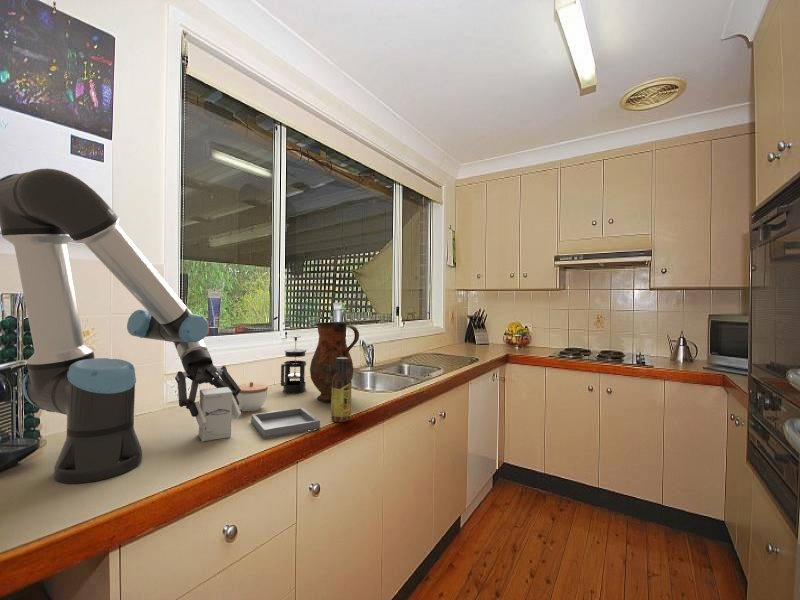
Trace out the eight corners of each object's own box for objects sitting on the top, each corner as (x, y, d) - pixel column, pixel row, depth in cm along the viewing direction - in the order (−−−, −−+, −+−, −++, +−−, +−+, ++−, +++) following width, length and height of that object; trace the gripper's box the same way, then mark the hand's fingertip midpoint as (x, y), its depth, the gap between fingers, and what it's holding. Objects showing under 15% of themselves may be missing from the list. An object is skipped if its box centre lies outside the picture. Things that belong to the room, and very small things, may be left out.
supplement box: (201, 442, 99) (202, 394, 99) (198, 434, 105) (199, 388, 105) (231, 437, 103) (232, 391, 103) (227, 429, 109) (228, 386, 109)
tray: (264, 438, 102) (264, 429, 102) (251, 422, 116) (251, 414, 116) (319, 429, 111) (320, 420, 111) (301, 414, 124) (302, 407, 124)
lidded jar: (249, 403, 137) (249, 377, 137) (273, 407, 133) (274, 380, 133) (226, 411, 127) (227, 383, 127) (252, 415, 123) (253, 386, 123)
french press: (297, 386, 165) (298, 334, 165) (311, 390, 159) (313, 335, 159) (274, 391, 155) (275, 336, 155) (289, 395, 150) (290, 337, 150)
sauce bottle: (346, 424, 116) (348, 359, 117) (327, 422, 118) (329, 358, 118) (353, 417, 123) (354, 357, 123) (335, 416, 124) (336, 356, 124)
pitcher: (329, 392, 157) (331, 320, 157) (370, 400, 145) (371, 322, 145) (299, 400, 143) (300, 321, 143) (340, 410, 131) (342, 324, 131)
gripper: (225, 360, 122) (252, 419, 112) (149, 368, 104) (173, 439, 95) (234, 345, 119) (262, 404, 109) (158, 351, 101) (183, 422, 92)
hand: (221, 420), depth 102 cm, fingers closed on supplement box, 9 cm apart
